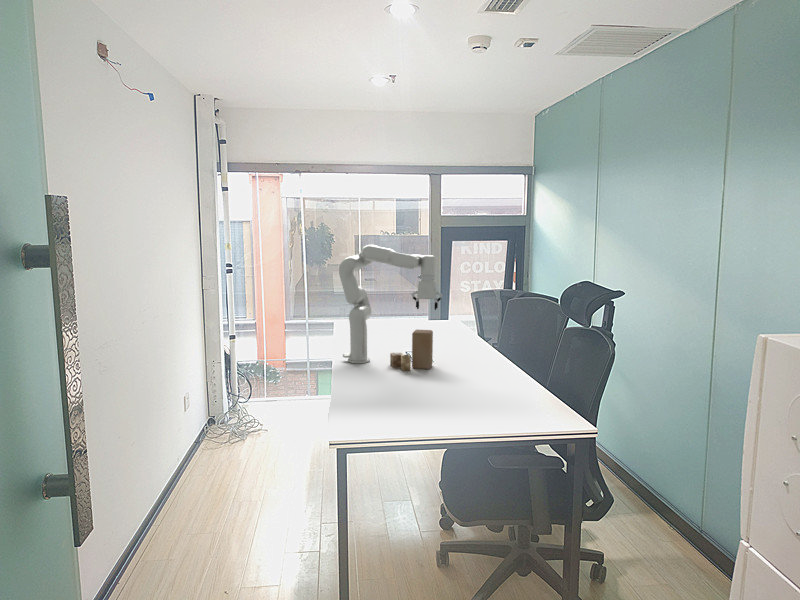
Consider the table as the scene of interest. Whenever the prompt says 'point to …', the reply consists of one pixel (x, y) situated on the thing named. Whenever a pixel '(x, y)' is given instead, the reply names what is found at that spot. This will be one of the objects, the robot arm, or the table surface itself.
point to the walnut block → (395, 360)
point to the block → (422, 349)
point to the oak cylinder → (405, 362)
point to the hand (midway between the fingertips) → (426, 309)
